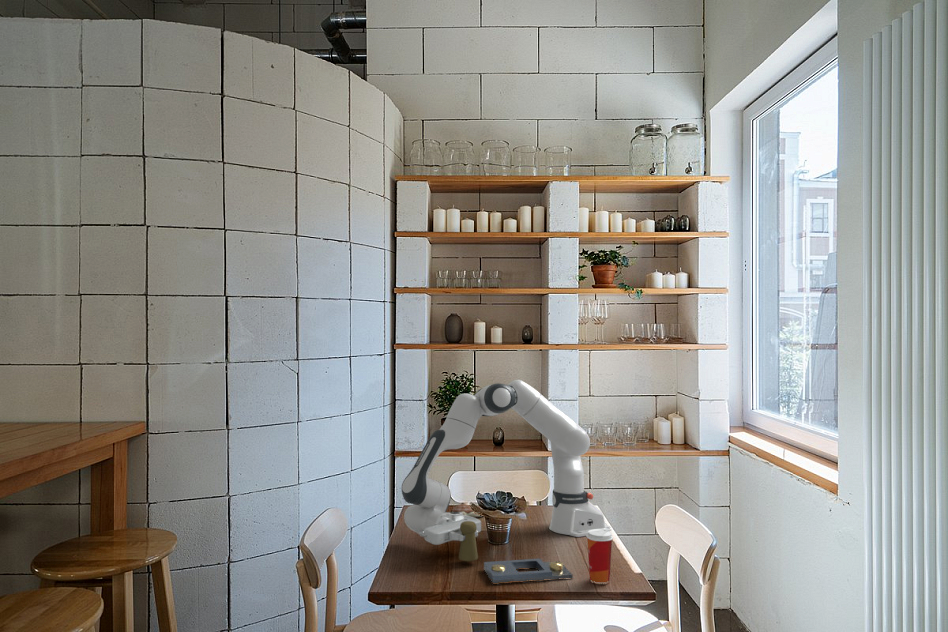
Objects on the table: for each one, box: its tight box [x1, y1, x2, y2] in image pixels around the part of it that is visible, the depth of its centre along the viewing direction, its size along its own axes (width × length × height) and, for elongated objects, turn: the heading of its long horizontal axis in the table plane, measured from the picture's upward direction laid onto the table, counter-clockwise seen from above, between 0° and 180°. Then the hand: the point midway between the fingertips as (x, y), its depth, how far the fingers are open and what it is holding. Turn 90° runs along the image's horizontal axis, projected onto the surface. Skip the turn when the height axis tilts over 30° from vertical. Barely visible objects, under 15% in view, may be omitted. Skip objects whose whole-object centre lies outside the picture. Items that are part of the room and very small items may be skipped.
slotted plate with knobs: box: [483, 558, 574, 583], centre depth 185 cm, size 24×12×3 cm, turn 102°
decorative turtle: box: [449, 503, 481, 518], centre depth 248 cm, size 18×17×5 cm
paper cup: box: [585, 529, 614, 582], centre depth 181 cm, size 8×8×14 cm
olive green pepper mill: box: [458, 521, 479, 562], centre depth 194 cm, size 6×6×11 cm
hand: (470, 536), depth 194 cm, fingers closed on olive green pepper mill, 4 cm apart
